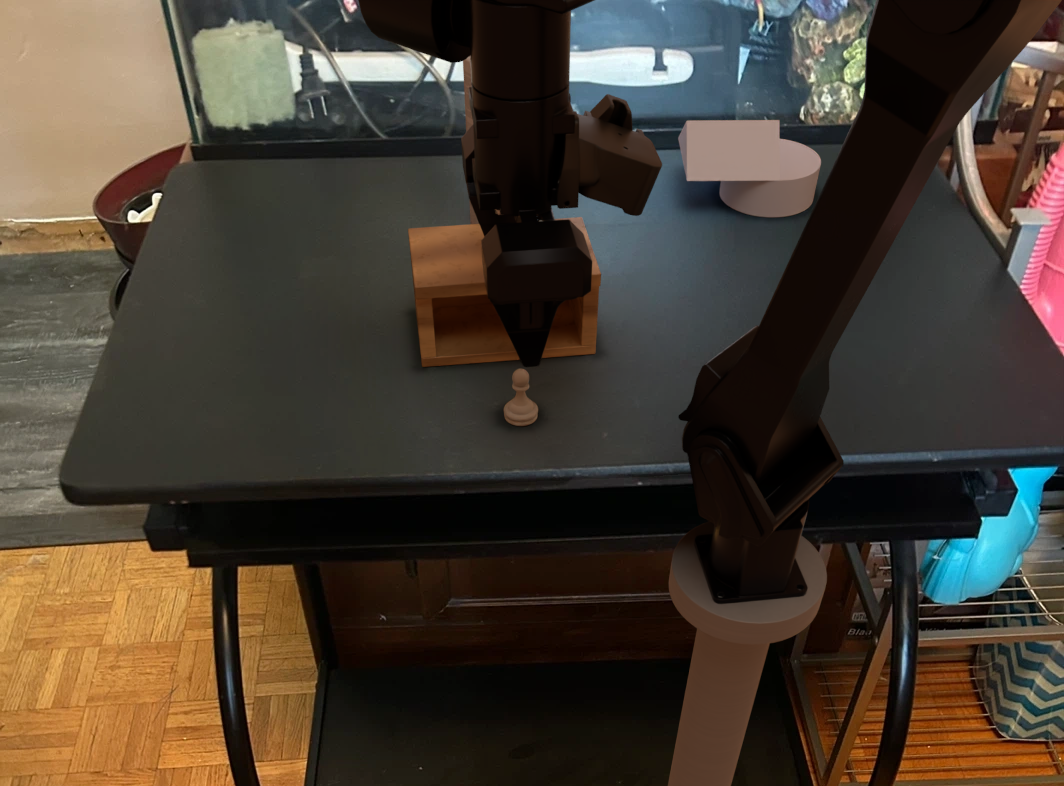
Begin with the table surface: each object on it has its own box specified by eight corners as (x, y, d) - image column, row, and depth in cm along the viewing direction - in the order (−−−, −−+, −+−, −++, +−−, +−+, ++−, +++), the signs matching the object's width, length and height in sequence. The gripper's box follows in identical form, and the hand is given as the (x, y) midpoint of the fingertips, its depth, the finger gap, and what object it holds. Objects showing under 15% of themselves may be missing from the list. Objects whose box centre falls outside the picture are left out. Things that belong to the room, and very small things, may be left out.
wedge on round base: (682, 217, 96) (820, 217, 96) (691, 141, 91) (837, 141, 91) (674, 174, 102) (804, 173, 102) (682, 100, 97) (819, 99, 97)
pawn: (497, 412, 78) (496, 365, 74) (527, 402, 78) (527, 355, 75) (514, 431, 76) (513, 384, 73) (544, 420, 77) (545, 373, 74)
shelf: (596, 357, 82) (601, 274, 77) (422, 370, 81) (414, 287, 76) (578, 298, 88) (582, 216, 82) (415, 310, 87) (407, 228, 81)
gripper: (692, 142, 54) (663, 397, 66) (627, 17, 66) (613, 254, 78) (483, 155, 53) (492, 411, 66) (454, 26, 65) (467, 264, 77)
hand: (522, 328), depth 72 cm, fingers open, 9 cm apart
